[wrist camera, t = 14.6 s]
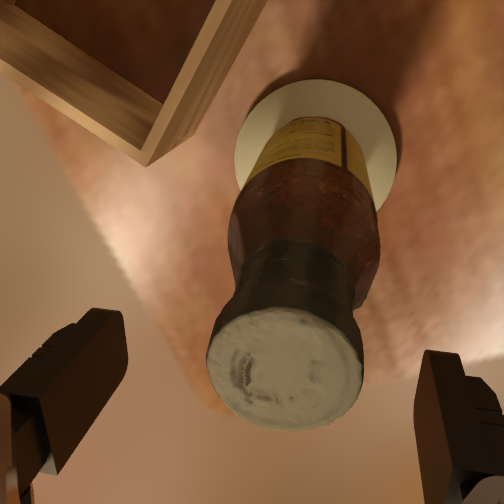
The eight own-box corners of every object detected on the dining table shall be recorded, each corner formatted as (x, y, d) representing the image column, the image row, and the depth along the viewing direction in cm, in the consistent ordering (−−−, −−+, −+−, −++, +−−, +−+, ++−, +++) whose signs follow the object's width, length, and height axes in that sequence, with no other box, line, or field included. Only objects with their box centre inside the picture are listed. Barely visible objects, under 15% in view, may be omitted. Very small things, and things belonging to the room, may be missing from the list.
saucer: (407, 81, 27) (408, 82, 27) (384, 241, 31) (384, 245, 31) (236, 76, 29) (234, 77, 28) (236, 229, 33) (234, 232, 32)
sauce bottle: (245, 174, 31) (100, 373, 13) (302, 90, 28) (217, 196, 10) (327, 231, 31) (297, 497, 13) (391, 155, 28) (458, 363, 11)
